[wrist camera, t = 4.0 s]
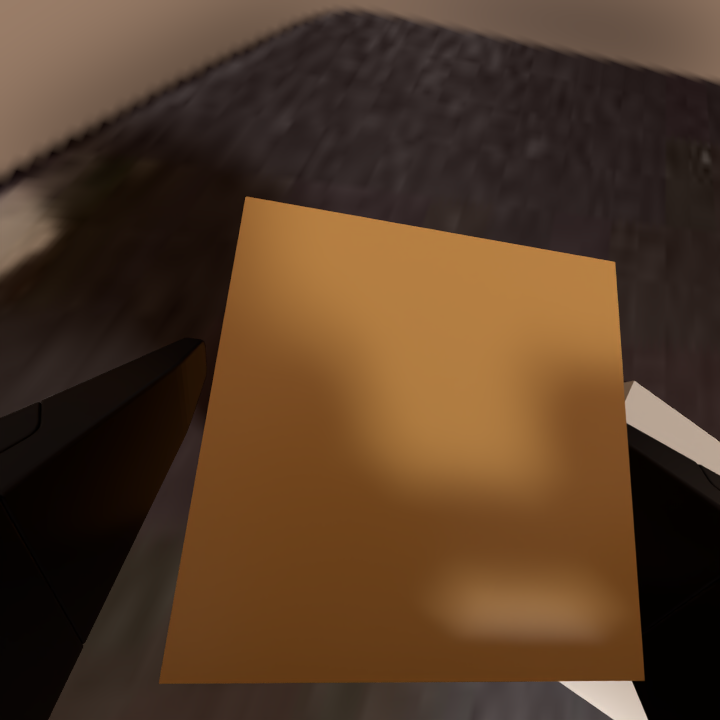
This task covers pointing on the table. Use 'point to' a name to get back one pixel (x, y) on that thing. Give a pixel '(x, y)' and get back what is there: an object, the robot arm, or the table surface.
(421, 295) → the tall orange pillar
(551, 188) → the table surface
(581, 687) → the plate
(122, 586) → the table surface
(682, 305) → the table surface
